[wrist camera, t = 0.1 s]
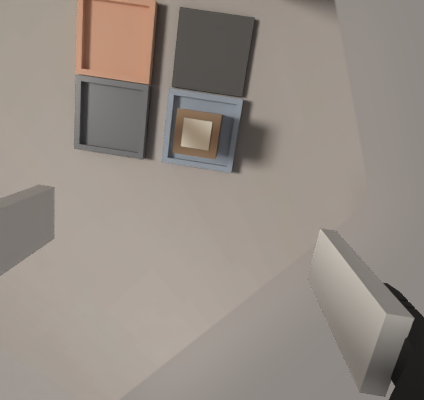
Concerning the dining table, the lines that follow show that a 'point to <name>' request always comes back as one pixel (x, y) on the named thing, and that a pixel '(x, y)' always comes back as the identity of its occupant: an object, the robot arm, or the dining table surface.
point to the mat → (212, 51)
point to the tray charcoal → (111, 116)
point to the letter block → (197, 133)
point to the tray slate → (211, 105)
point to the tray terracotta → (116, 39)
